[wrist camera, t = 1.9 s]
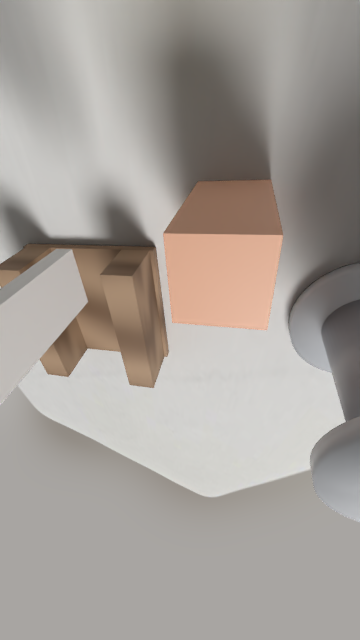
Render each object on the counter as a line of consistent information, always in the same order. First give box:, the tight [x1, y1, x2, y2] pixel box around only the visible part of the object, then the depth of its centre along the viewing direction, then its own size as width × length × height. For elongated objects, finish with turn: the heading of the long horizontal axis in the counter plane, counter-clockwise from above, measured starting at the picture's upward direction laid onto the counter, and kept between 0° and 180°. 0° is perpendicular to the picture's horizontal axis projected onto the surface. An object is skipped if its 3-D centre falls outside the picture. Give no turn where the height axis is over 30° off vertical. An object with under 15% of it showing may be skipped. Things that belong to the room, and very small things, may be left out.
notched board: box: [0, 244, 169, 388], centre depth 21 cm, size 10×10×4 cm
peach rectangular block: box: [163, 180, 283, 330], centre depth 14 cm, size 4×4×8 cm
